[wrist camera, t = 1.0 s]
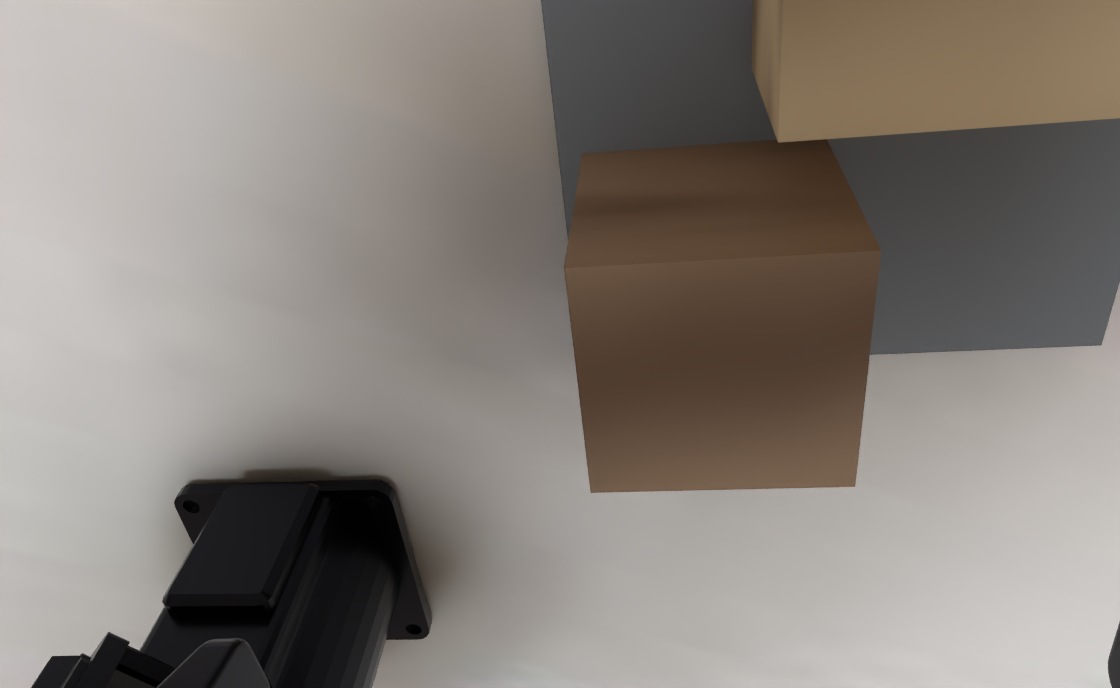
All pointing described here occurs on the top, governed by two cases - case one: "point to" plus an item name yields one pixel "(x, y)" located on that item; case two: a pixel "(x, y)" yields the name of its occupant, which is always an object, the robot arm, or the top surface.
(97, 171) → the top surface
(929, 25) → the oak base block
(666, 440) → the walnut cube
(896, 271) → the mat
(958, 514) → the top surface
